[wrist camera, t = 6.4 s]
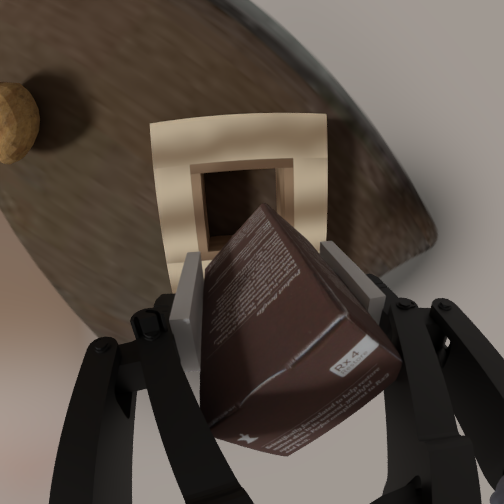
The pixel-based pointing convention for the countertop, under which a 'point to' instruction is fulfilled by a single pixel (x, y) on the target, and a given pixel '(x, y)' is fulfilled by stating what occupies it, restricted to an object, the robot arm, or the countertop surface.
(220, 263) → the box
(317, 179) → the square frame
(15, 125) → the potato
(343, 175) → the countertop surface
